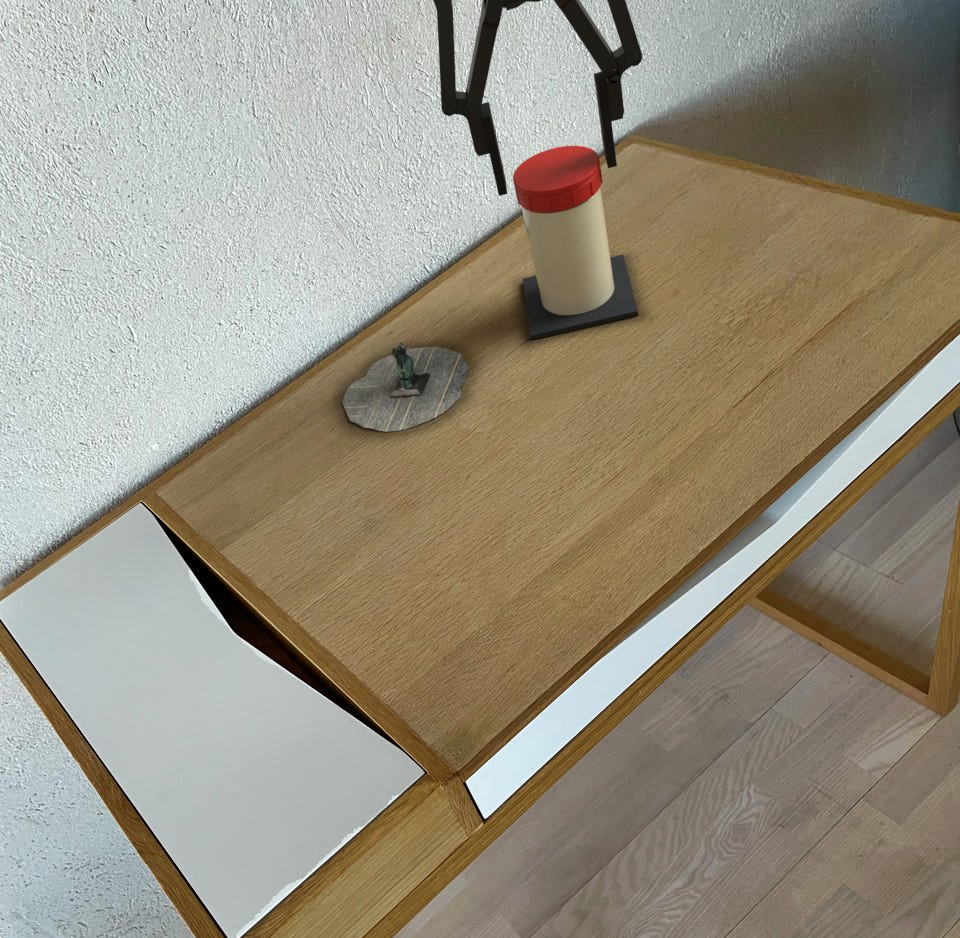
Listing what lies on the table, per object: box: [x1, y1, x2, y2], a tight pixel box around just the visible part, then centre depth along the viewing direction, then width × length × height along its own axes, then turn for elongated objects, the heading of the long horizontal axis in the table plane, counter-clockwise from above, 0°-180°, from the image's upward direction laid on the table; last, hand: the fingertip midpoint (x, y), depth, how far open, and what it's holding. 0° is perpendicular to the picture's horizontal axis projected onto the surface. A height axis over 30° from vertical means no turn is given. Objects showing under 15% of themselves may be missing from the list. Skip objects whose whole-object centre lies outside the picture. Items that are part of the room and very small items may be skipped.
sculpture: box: [341, 342, 470, 433], centre depth 88 cm, size 12×9×8 cm
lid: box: [512, 145, 603, 212], centre depth 82 cm, size 8×8×2 cm
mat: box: [522, 254, 639, 341], centre depth 90 cm, size 10×10×1 cm
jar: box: [520, 186, 614, 315], centre depth 86 cm, size 7×7×12 cm
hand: (555, 173), depth 81 cm, fingers open, 9 cm apart
